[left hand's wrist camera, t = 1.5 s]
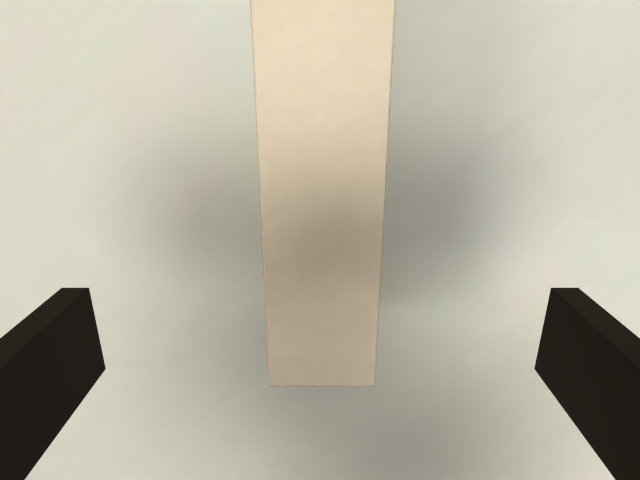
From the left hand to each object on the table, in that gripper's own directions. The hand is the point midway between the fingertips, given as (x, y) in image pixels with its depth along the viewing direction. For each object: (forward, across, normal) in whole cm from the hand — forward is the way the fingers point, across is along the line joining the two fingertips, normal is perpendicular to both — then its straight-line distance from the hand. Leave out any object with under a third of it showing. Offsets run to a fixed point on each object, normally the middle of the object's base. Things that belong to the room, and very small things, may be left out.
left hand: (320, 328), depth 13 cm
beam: (+14, 0, -27) cm, 31 cm away
